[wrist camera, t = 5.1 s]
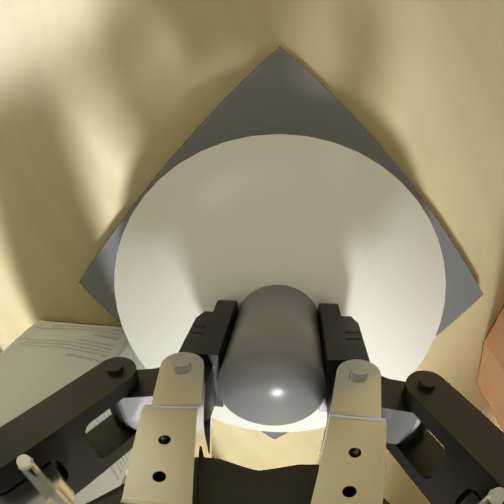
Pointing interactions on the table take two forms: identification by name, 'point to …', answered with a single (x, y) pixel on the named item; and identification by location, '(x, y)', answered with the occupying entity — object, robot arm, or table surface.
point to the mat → (291, 123)
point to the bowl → (494, 369)
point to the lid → (280, 269)
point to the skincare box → (61, 377)
